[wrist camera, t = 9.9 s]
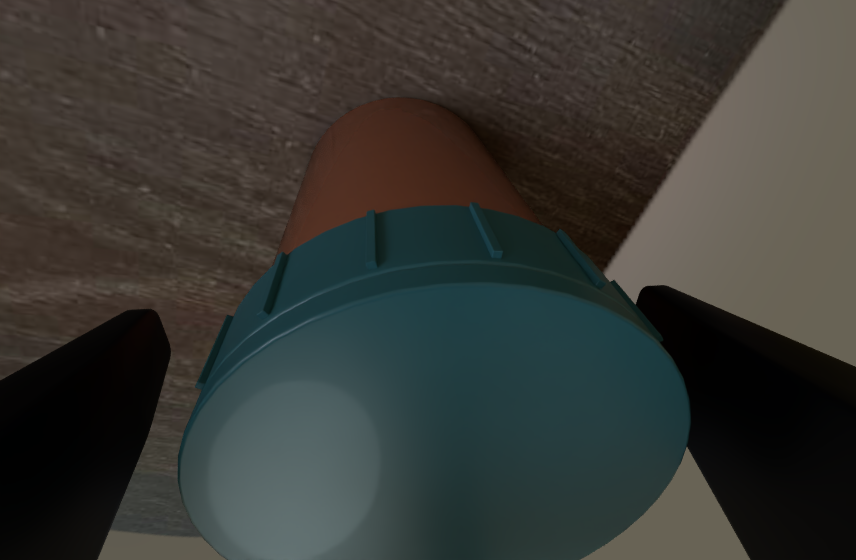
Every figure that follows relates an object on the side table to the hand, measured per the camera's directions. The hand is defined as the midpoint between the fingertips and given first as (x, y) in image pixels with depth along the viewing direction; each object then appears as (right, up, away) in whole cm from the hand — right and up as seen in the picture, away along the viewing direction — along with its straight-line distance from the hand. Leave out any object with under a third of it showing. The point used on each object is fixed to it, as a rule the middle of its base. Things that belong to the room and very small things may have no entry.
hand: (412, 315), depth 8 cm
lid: (+1, -2, -2) cm, 3 cm away
